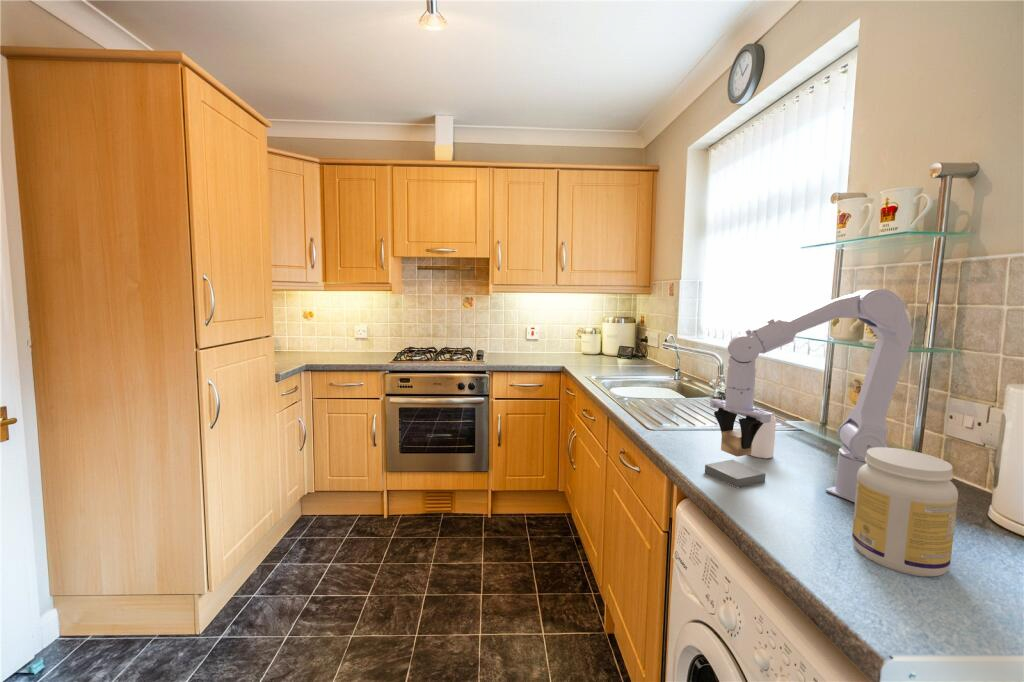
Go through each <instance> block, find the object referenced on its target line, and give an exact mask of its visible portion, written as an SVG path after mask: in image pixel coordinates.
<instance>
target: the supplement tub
mask: <svg viewBox="0 0 1024 682" xmlns="http://www.w3.org/2000/svg"><path fill="white" fill-rule="evenodd" d="M865 462H866V463H867V464H865V465H863V466H862V467H860V469H859V470H858V474H857V486H856V497H855V503H854V510H853V511H854V513H853V520H852V521H853V522H852V533H851V537H852V538H851V539H852V543H853V545H854V546H855V548H856V550H858V551H859V553H861V554H862V556H864V557H866V558H867V559H869V560H871V561H872V562H874V563H876V564H878V565H881V566H882V567H885V568H888V569H891V570H894V571H896V572H899V573H902V574H907V575H912V576H915V577H916V576H917V577H928V578H929V577H938V576H942V575H945V574H946V573H947V572H948V571H949V568H950V566H951V560H952V559H951V558H952V551H953V543H954V535H955V534H954V533H955V528H956V526H955V525H956V516H957V509H958V500H959V491H958V489H957V487H956V486H955V484H954V482H952V481H951V480H953V479H954V474H953V471H954V470H953V468H954V467H953V465H952V464H951V463H950V462H948V461H946V460H945V459H944V460H943V459H941V458H939V457H937V456H933V455H931V454H926V453H923V452H918V451H914V450H909V449H903V448H897V447H896V448H895V447H888V448H887V447H876V448H870V449H868V450H867V454H866V457H865Z"/></svg>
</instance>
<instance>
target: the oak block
mask: <svg viewBox="0 0 1024 682" xmlns="http://www.w3.org/2000/svg"><path fill="white" fill-rule="evenodd" d="M751 450H752V444H751V447H750V448H748V449H742V447H741V430H738V429H733V430H730V431H723V432H722V433H721V444H720V451H722V452H724V453H727V454H730V455H731V456H734V457H742V456H743V457H744V456H750V455H749V454H751Z"/></svg>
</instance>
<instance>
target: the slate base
mask: <svg viewBox="0 0 1024 682" xmlns="http://www.w3.org/2000/svg"><path fill="white" fill-rule="evenodd" d="M704 473H705V474H706V473H707V474H706V475H708V474H709V476H711V477H712V478H715V479H717V478H718V479H717V480H719V479H720V480H719V481H721V480H722V481H721V482H723V481H724V482H723V483H725V482H726V483H725V484H727V483H729V484H728V485H730V484H731V485H730V486H732V485H733V486H732V487H734V486H735V487H734V488H736V487H739V488H742V487H743V486H744V487H747V485H748V486H752V485H756V483H757V484H761V483H765V482H766V473H765V472H763V471H761V470H759V469H756V468H755V467H751V466H749V465H746V464H744V463H742V462H739V461H737V460H734V459H729V460H723V461H717V462H713V463H707V464H705V465H704Z"/></svg>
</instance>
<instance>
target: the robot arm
mask: <svg viewBox="0 0 1024 682" xmlns="http://www.w3.org/2000/svg"><path fill="white" fill-rule="evenodd" d="M906 309H907V303H906V302H905V301H904V300H902V298H901V297H900V296H899V295H897V294H896V293H895V292H893V291H891V290H890V289H886V288H885V289H884V288H877V289H861V290H857V291H855V292H854V293H849V294H847V295H842V296H840V297H837V298H834V299H832V300H830V301H828V302H826V303H824V304H822V305H819V306H817V307H815V308H812V309H811V310H809V311H806V312H804V313H803V314H800V315H797V317H794V318H792V319H789V320H787V319H782V318H778V319H774V318H770V319H769V320H766V324H763V325H761V326H759V327H757V328H754V329H752V330H751V329H747V330H745V334H746V335H745V334H744V335H743V334H741V335H736V336H734V337H733V338H732V339H731V340H730V341H729V344H728V345H727V351H728V354H729V358H728V366H727V372H726V374H727V376H726V386H725V388H726V390H725V400H722V399H718V398H712V399H710V402H709V403H710V405H709V406H710V408H712V409H717V411H714V412H713V415H714V417H715V419H716V421H717V424H718V425H719V429H720V432H721V434H722V432H723V431H730V430H734V428H735V427H734V425H735V421H736V419H737V416H738V415H739V416H742V418H738V423H739V426H740V431H741V447H742V449H748V448H750V447H751V444H752V441H753V439H754V437H755V435H756V433H757V431H758V430H759V428H760V427H761V426H762V424H763V423H768V422H770V420H771V414H770V413H767V412H764V411H762V410H759V409H760V408H757V407H754V398H755V387H756V385H755V383H756V372H757V370H756V360H757V359H758V357H759V354H762V355H764V354H766V353H768V352H771V351H774V350H776V349H779V348H781V347H783V346H785V345H787V344H790V343H792V342H793V341H794V340H795V337H796V335H797V334H799V333H801V332H803V331H807V330H809V329H812V328H814V327H817V326H820V325H822V324H825V323H828V322H830V321H832V320H835V319H842V318H843V319H857V320H859V321H861V322H862V323H864V324H866V325H867V327H869V329H871V330H870V331H872V332H873V333H874V335H875V336H876V337H877V339H876V341H875V345H874V348H873V351H872V354H871V357H870V361H869V363H868V366H867V370H866V373H865V376H864V378H863V381H862V384H861V388H860V392H859V395H858V397H857V399H856V403H855V406H854V408H853V409H852V410H851V411H849V413H848V415H847V418H846V420H845V421H844V422H843V423H841V424H840V426H838V429H837V436H838V439H839V441H840V442H841V443H842V445H841V446H840V448H839V449H838V455H837V466H836V477H835V486H831V487H828V488H825V492H827V493H829V494H832V495H834V496H837V497H839V498H842V499H845V500H847V501H850V502H852V503H854V504H855V497H856V486H857V474H858V470H859V469H860V467H862V466H863V465H865V464H867V463H866V462H865V457H866V454H867V450H868V449H870V448H876V447H887V448H889V445H888V442H887V434H888V430H889V429H888V424H887V419H886V417H887V414H888V410H889V408H890V405H891V402H892V400H893V396H894V393H895V390H896V388H897V387H896V386H897V385H898V382H899V379H900V376H901V373H902V371H903V370H902V369H903V366H904V364H905V361H906V358H907V354H908V352H909V349H910V346H911V343H912V340H913V337H914V329H913V327H912V325H911V324H912V323H911V322H910V319H909V316H908V314H907V311H906Z"/></svg>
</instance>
